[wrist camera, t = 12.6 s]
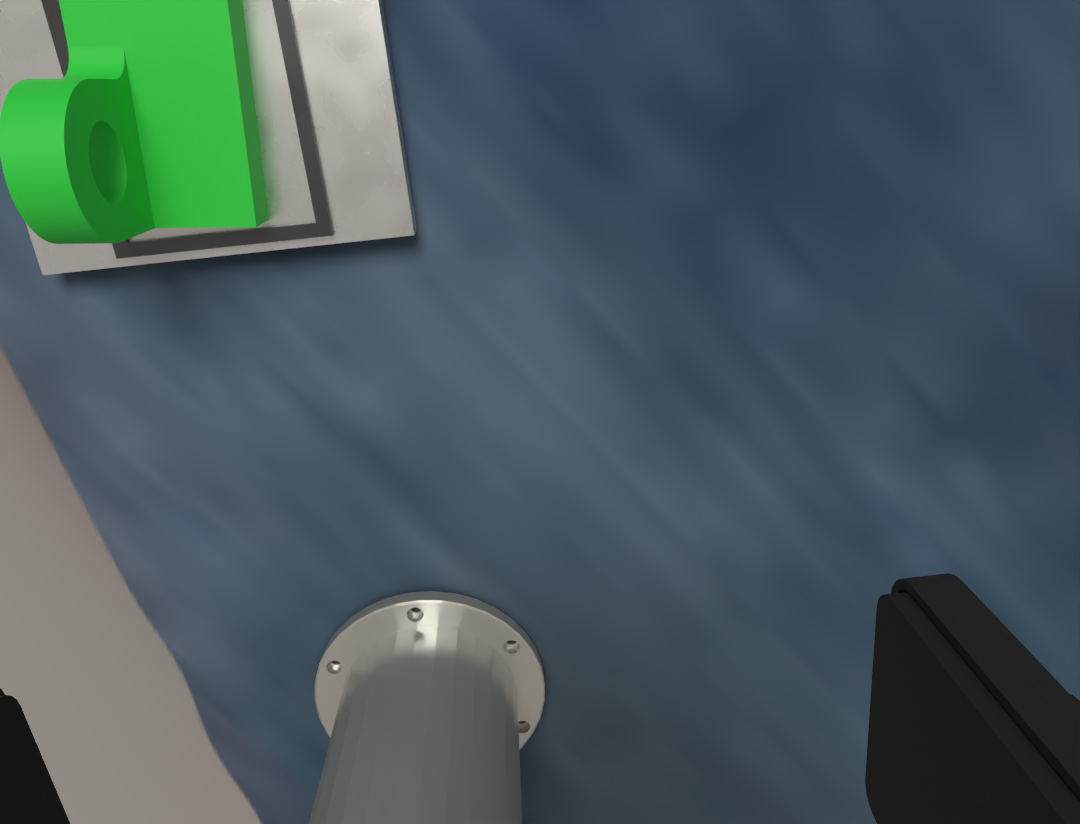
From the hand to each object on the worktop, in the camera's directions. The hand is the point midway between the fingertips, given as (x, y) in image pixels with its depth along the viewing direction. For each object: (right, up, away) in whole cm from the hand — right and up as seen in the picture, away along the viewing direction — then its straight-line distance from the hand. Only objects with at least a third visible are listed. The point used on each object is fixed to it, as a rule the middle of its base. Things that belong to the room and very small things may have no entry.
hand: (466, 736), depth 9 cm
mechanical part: (-14, +17, +24) cm, 32 cm away
